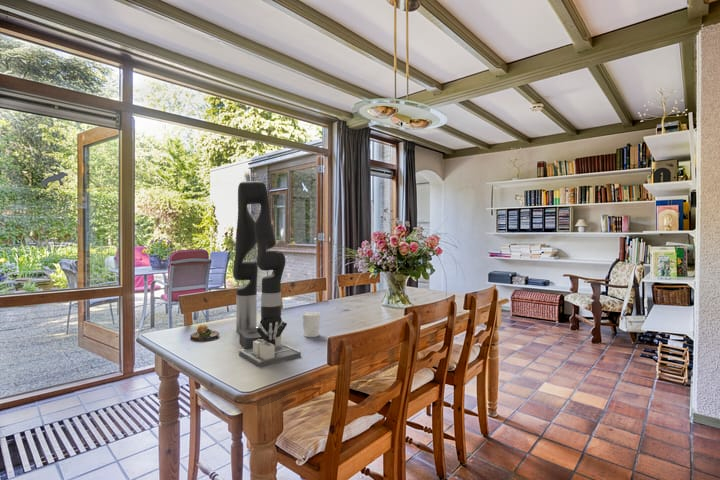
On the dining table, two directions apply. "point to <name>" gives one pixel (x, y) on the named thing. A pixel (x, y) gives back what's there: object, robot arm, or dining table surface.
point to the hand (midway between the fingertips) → (271, 348)
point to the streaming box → (249, 337)
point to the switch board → (281, 354)
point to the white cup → (311, 324)
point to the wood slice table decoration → (204, 334)
